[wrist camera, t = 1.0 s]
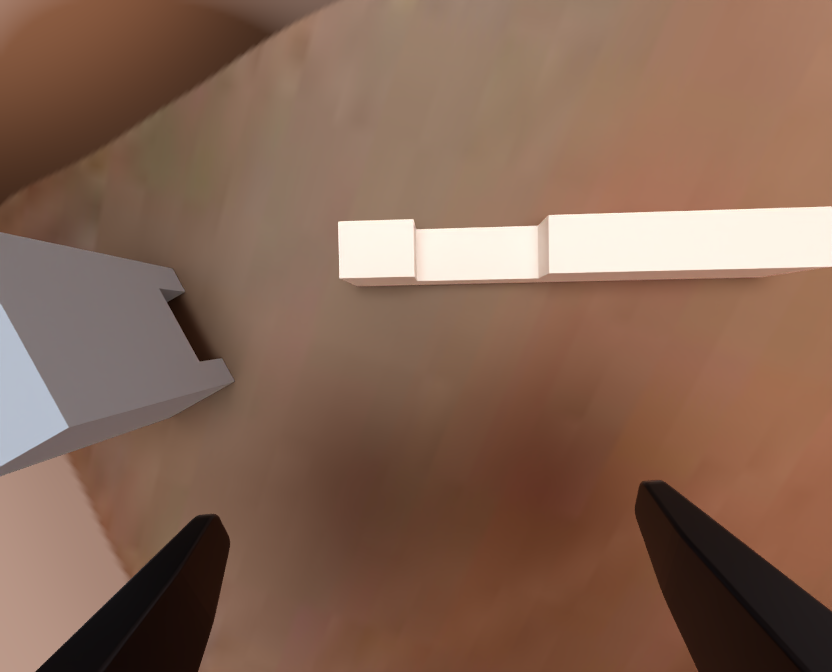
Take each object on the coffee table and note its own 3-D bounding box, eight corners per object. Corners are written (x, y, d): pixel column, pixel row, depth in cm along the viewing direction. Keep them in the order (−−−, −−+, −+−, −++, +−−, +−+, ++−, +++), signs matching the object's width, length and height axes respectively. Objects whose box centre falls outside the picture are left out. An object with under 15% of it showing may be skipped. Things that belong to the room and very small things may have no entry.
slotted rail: (760, 277, 22) (831, 266, 18) (356, 286, 23) (339, 278, 19) (760, 228, 22) (832, 206, 18) (355, 239, 23) (338, 221, 19)
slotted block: (234, 381, 23) (69, 427, 13) (171, 417, 24) (-44, 491, 13) (172, 268, 23) (-44, 223, 13) (109, 305, 24) (-154, 290, 13)
